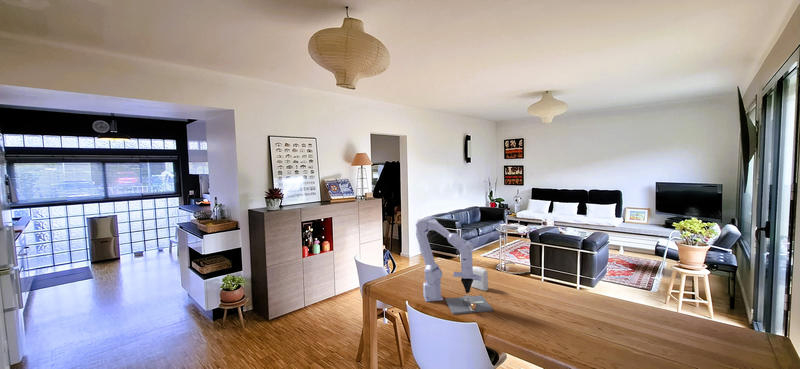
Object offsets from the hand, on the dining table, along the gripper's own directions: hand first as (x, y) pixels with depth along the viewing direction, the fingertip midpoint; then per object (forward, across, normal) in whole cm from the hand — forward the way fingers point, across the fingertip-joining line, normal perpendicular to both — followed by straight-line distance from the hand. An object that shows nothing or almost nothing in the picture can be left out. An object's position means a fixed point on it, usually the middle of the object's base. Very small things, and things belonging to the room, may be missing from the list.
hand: (467, 292), depth 160 cm
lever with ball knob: (+5, +2, -3) cm, 6 cm away
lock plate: (+7, 0, 0) cm, 7 cm away
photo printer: (+7, -3, +24) cm, 25 cm away
